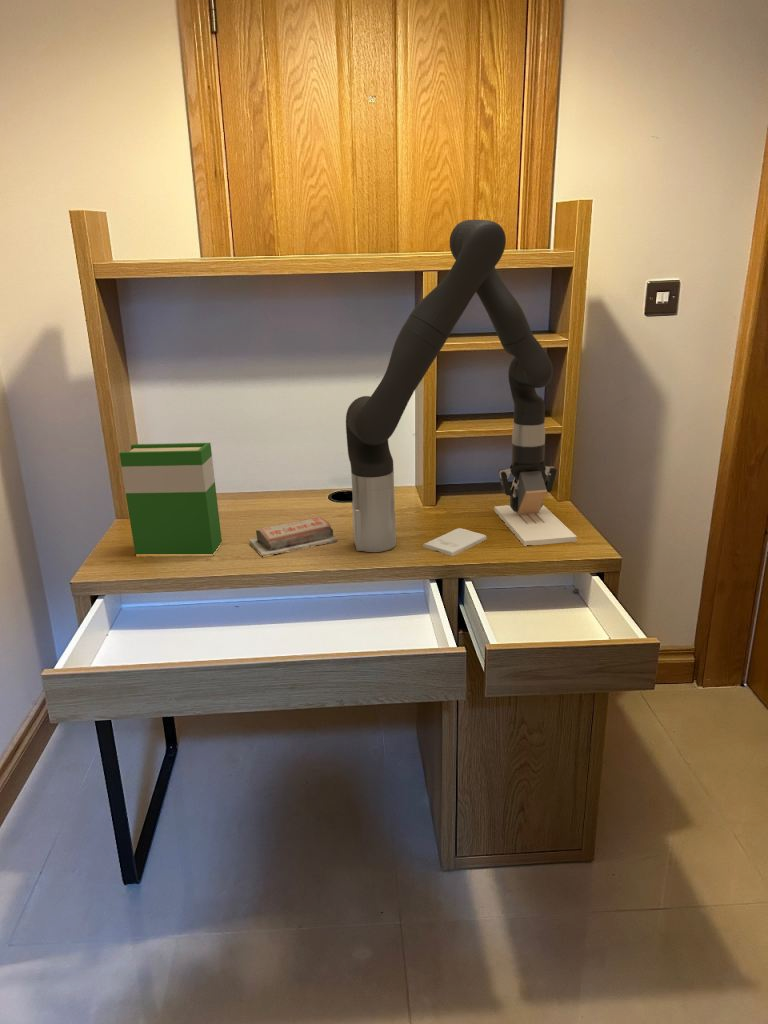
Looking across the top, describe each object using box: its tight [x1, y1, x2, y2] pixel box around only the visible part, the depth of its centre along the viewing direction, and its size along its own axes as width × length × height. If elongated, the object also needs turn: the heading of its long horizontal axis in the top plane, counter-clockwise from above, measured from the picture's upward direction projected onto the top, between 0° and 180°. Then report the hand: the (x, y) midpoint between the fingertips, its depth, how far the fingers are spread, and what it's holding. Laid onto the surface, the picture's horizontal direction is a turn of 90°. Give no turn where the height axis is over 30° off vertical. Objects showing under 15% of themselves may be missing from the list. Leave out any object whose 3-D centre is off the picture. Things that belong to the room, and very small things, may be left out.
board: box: [493, 504, 578, 547], centre depth 177 cm, size 12×24×1 cm, turn 8°
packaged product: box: [248, 516, 338, 557], centre depth 172 cm, size 18×5×10 cm
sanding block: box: [517, 471, 548, 515], centre depth 178 cm, size 9×5×6 cm
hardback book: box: [119, 442, 223, 555], centre depth 167 cm, size 18×7×24 cm, turn 87°
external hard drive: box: [422, 527, 487, 557], centre depth 168 cm, size 2×8×12 cm
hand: (526, 509), depth 181 cm, fingers closed on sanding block, 5 cm apart
